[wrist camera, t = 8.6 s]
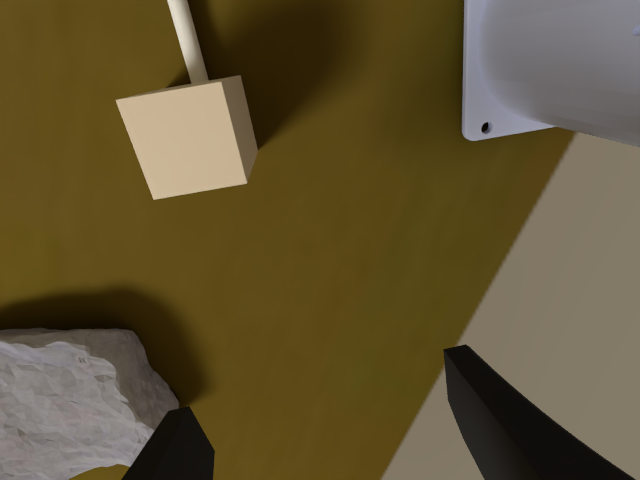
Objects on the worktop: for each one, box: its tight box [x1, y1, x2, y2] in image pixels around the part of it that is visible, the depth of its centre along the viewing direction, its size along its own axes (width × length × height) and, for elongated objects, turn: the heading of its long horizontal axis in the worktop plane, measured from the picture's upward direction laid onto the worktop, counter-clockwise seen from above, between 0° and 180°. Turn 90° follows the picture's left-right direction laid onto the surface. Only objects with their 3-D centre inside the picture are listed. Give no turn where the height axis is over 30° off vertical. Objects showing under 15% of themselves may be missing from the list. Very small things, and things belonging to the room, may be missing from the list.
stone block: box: [0, 328, 179, 480], centre depth 21 cm, size 12×5×10 cm
